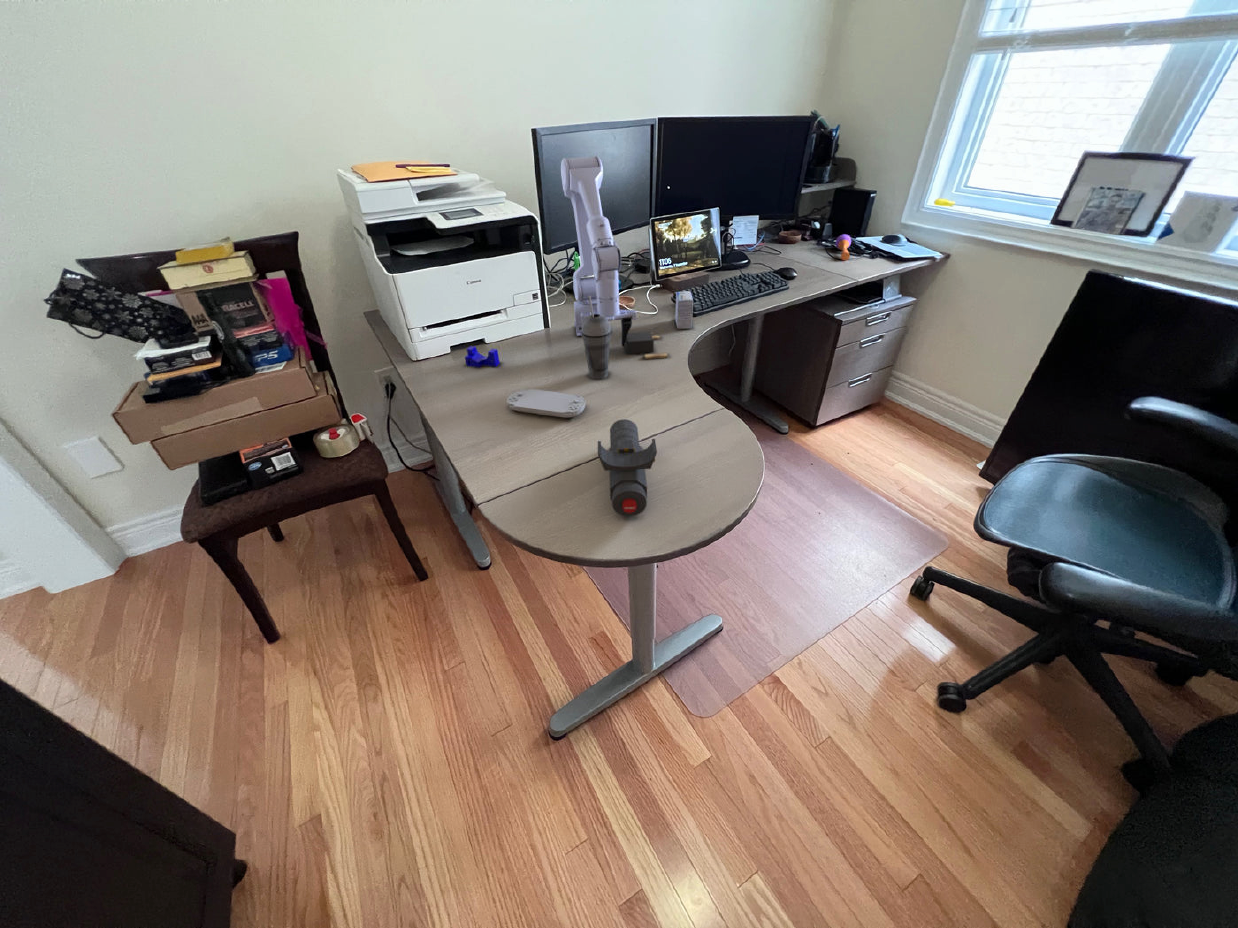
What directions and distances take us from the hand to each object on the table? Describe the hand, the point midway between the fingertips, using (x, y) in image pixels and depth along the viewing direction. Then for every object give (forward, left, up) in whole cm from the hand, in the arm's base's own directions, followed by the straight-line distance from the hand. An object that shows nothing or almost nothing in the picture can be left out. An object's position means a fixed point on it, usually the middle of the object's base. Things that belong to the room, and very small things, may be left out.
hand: (609, 345), depth 134 cm
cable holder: (-34, -3, -2) cm, 34 cm away
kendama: (+105, +77, -2) cm, 130 cm away
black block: (+8, 0, -1) cm, 8 cm away
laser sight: (-2, -56, -2) cm, 56 cm away
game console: (-17, -28, -2) cm, 33 cm away
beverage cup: (-4, -14, -2) cm, 15 cm away
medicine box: (+24, +15, -2) cm, 28 cm away
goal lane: (+12, 0, -1) cm, 12 cm away
